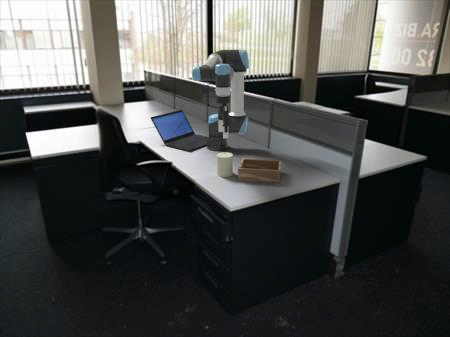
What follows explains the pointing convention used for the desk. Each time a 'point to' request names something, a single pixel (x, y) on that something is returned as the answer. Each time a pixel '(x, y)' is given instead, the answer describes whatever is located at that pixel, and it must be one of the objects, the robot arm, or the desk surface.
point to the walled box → (259, 170)
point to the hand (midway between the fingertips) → (223, 134)
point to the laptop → (178, 131)
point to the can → (224, 164)
